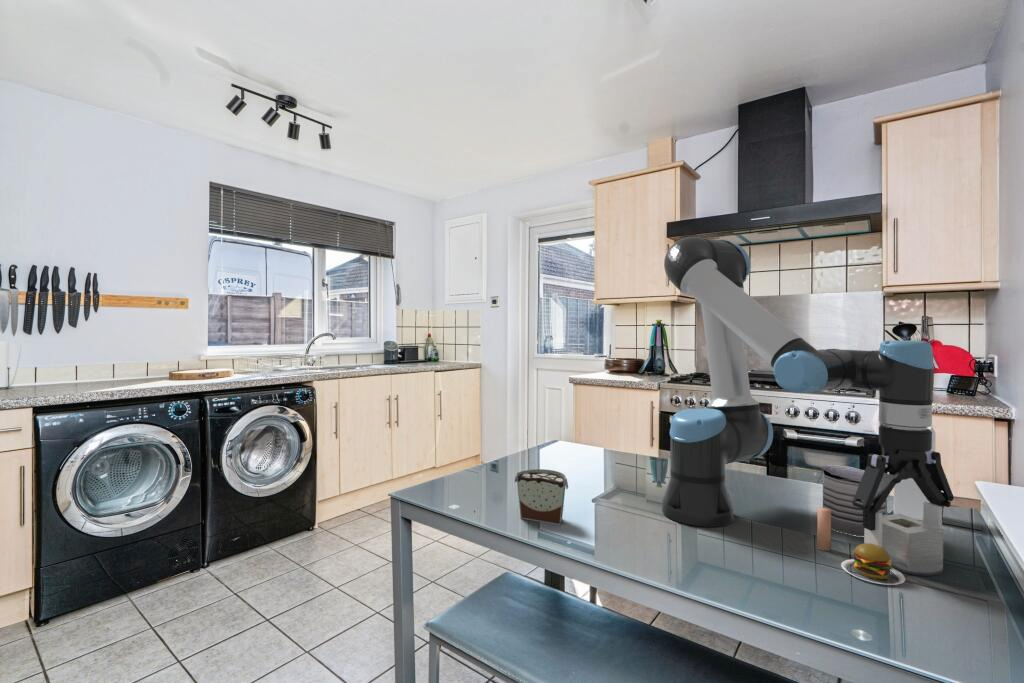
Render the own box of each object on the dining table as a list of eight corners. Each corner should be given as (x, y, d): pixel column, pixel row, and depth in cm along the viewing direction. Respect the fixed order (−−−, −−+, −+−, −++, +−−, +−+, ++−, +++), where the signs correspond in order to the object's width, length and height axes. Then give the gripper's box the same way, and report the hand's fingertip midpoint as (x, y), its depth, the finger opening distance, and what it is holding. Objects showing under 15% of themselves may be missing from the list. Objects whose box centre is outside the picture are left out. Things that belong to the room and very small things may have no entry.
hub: (880, 571, 86) (880, 536, 86) (856, 544, 97) (856, 514, 97) (957, 579, 83) (957, 544, 83) (923, 551, 94) (924, 520, 94)
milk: (926, 522, 109) (928, 421, 108) (892, 514, 113) (894, 417, 113) (934, 515, 112) (936, 418, 112) (901, 508, 117) (903, 414, 116)
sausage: (819, 550, 95) (819, 510, 95) (815, 545, 97) (816, 507, 97) (832, 551, 94) (832, 512, 94) (828, 546, 96) (828, 508, 96)
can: (829, 513, 114) (829, 461, 114) (890, 527, 106) (891, 471, 105) (814, 527, 106) (815, 471, 106) (880, 543, 98) (881, 482, 97)
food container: (575, 516, 112) (575, 472, 112) (566, 526, 107) (566, 479, 106) (525, 508, 117) (525, 466, 117) (514, 517, 112) (514, 472, 112)
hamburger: (884, 601, 78) (885, 567, 78) (814, 567, 89) (815, 537, 89) (934, 588, 82) (935, 554, 82) (861, 557, 93) (861, 528, 93)
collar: (908, 568, 85) (908, 533, 85) (867, 549, 93) (867, 517, 93) (942, 563, 87) (943, 529, 87) (899, 545, 94) (900, 513, 94)
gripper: (868, 433, 83) (866, 560, 83) (980, 426, 89) (978, 544, 89) (829, 425, 90) (828, 541, 91) (936, 419, 96) (934, 528, 97)
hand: (903, 543), depth 90 cm, fingers open, 13 cm apart
